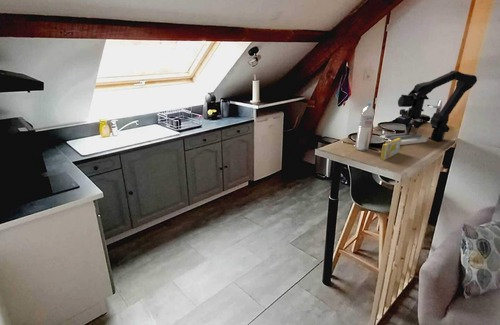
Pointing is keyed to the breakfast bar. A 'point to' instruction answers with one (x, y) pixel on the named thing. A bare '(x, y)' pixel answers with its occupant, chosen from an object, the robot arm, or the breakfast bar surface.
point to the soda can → (371, 133)
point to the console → (406, 138)
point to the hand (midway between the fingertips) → (410, 132)
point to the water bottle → (365, 128)
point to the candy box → (390, 148)
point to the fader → (412, 131)
